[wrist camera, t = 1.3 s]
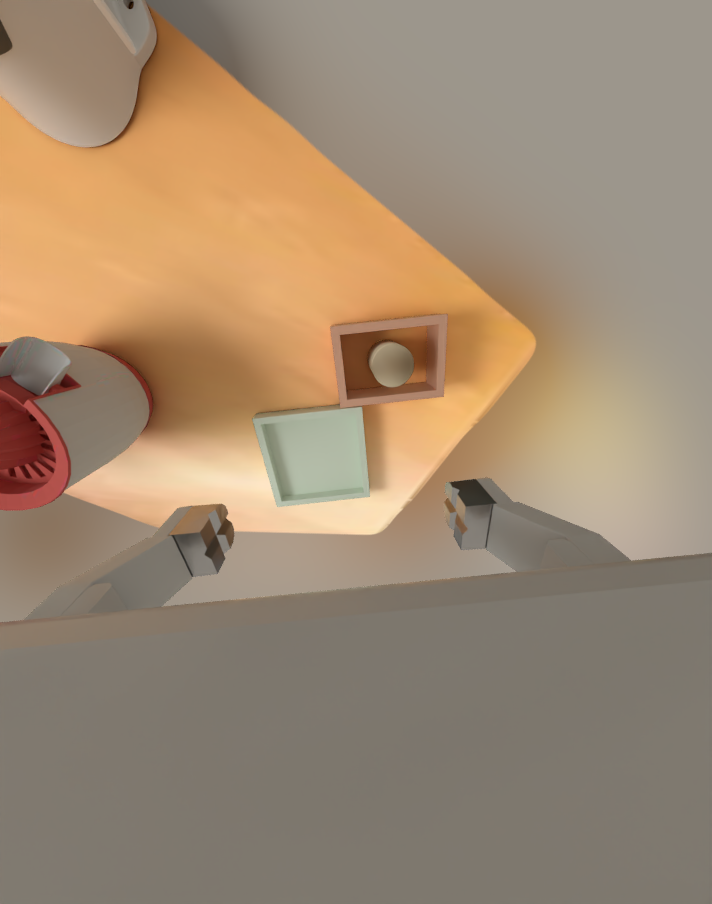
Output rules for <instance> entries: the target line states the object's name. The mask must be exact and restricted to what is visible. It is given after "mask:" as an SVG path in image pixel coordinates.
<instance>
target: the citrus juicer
mask: <svg viewBox="0 0 712 904" xmlns="http://www.w3.org/2000/svg"><path fill="white" fill-rule="evenodd" d="M152 409H153V401H152V395H151V392H150V389H149V387H148V386H147V384H146V382H145V380H144V379H143V378H142V376H141V375H140V374H139V373H138V372H137V371H136V370H135V369H134V368H133V367H132V366H131V365H129V364H128V363H127V362H125V361H124V360H122V359H120V358H118V357H117V356H115V355H112V354H109V353H107V352H104V351H101V350H98V349H95V348H92V347H87V346H82V345H73V344H68V343H60V342H50V341H43V340H41V339H38V338H35V337H21V338H17V339H15V340H13V341H12V342H5V343H0V510H27V509H32V508H38V507H41V506H43V505H46V504H48V503H50V502H52V501H54V500H55V499H56V498H58V497H59V496H60V495H61V494H62V493H63V492H64V490H66V489H67V488H69V487H70V486H72V485H74V484H75V483H77V482H78V481H80V480H81V479H83V478H85V477H86V476H88V475H89V474H91V473H92V472H94V471H96V470H97V469H99V468H100V467H102V466H103V465H105V464H107V463H108V462H110V461H111V460H113V459H114V458H115V457H117V456H118V455H119V454H121V453H122V452H123V451H125V450H126V449H127V448H128V447H129V446H130V445H131V444H132V443H133V442H134V441H135V440H136V439H137V438H138V436H139V435H140V434H141V433H142V432H143V430H144V429H145V428H146V426H147V424H148V422H149V419H150V417H151V414H152Z"/></svg>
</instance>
